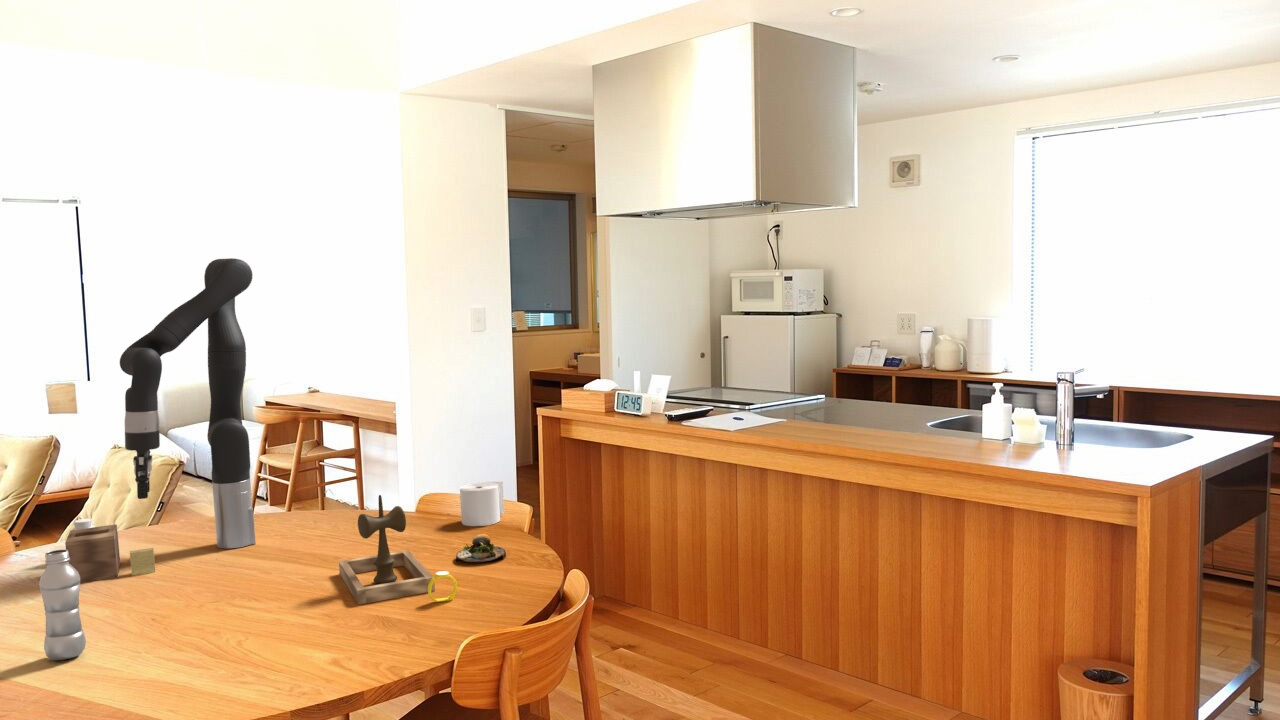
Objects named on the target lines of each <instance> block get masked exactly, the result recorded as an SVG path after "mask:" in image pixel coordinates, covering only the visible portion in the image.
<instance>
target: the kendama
mask: <svg viewBox="0 0 1280 720" xmlns="http://www.w3.org/2000/svg"><path fill="white" fill-rule="evenodd" d="M382 498H383V497H382V495H381V494H378V516H371V515H368V514H365V513H361V514H359V515H358V519H357V530H358V532H359V536H361V538H363V539H366V540H368V539H369V538H370V537H371V536H372V535H374V534H375V533H376V532H378V545H377V546H378V547H377V548H378V549H377V554H376V555H377V559H376V560H375V561H374V565H375V566H376V568H377V570H376V575H375V576H374V578H373V582H374V583H375V584H376V585H380V584H386V583H391V582H397V580H398V576H397V574H395V571H394V567H393V563H394V561H395V560H394V559H393V558H392V557H391V555H390V553H391V552H390V547H389V544H388V539H387V532H386V529H391V530H394V531H396V532H398V533H403V532H404V531H405V530H406V526H407V518H406V513H405V511H404V510H403V508H402V507H401V506H400V505H397V506H396V505H395V506H394V507H393V508H392V509H391V510H390V511H389V512H388V513H387V514H385V515H384V506H383V499H382Z"/></svg>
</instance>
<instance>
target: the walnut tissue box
mask: <svg viewBox="0 0 1280 720" xmlns="http://www.w3.org/2000/svg"><path fill="white" fill-rule="evenodd" d="M64 544H65V550H68V552H69V557H70V560H69V561H68V562H69V564H70V565H71V566H73V567H74V568H75V569H76V570H77V571H78V573H79V575H80V584H82V583H88V582H94V581H100V580H106V579H107V580H108V579H115V578H118V577H119V573H120V572H119V571H120V568H119V567H120V566H121V557H120V545H119V535H118V525H117V524H109V525H101V526H95V527H93V528H85V529H77V530H73V529H71V530H69V532H68V535H67V538H66V539H65V543H64Z"/></svg>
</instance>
